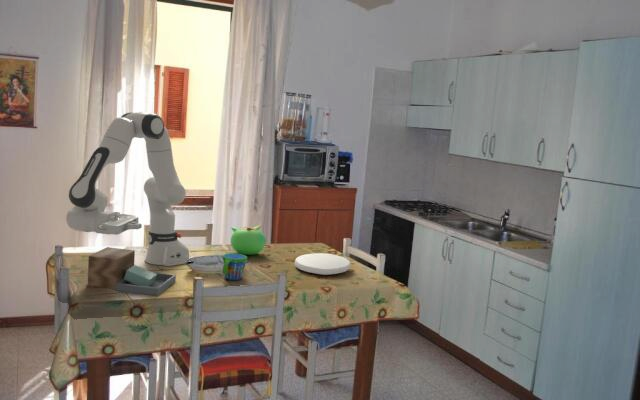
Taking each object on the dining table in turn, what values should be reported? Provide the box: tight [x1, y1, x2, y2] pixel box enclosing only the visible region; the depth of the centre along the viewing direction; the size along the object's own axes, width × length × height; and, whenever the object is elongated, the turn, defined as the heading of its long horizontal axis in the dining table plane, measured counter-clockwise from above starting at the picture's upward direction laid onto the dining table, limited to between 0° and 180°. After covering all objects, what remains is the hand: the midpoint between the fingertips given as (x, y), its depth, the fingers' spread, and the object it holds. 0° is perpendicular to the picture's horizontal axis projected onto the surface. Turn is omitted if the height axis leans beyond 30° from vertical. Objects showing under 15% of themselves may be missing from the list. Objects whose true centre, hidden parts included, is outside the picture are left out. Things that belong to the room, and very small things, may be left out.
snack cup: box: [221, 252, 248, 281], centre depth 266 cm, size 16×10×10 cm
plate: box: [294, 252, 351, 276], centre depth 295 cm, size 28×6×27 cm
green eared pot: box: [230, 225, 267, 256], centre depth 310 cm, size 18×17×15 cm
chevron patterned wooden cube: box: [87, 246, 136, 290], centre depth 245 cm, size 12×16×12 cm
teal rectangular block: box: [124, 264, 157, 287], centre depth 244 cm, size 4×8×10 cm
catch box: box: [115, 271, 177, 297], centre depth 244 cm, size 17×20×3 cm
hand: (140, 226), depth 241 cm, fingers closed
